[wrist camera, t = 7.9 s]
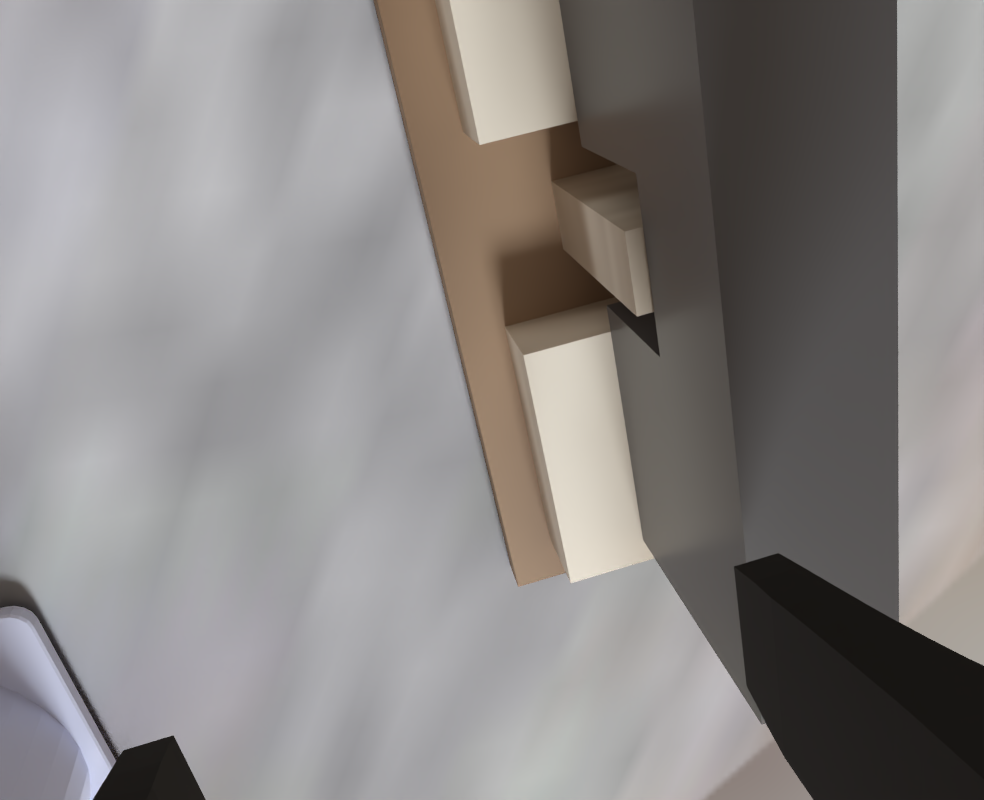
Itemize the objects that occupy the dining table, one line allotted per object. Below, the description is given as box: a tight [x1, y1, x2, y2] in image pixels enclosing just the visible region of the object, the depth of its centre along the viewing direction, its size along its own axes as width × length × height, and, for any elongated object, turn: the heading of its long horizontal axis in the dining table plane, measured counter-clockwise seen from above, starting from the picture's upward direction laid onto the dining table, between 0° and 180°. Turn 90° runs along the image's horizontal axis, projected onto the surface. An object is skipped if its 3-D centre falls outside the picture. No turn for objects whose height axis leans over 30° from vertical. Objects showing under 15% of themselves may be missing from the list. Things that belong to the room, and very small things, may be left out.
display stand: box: [374, 0, 654, 587], centre depth 16 cm, size 8×17×5 cm, turn 12°
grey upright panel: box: [559, 0, 899, 724], centre depth 14 cm, size 14×3×6 cm, turn 12°
